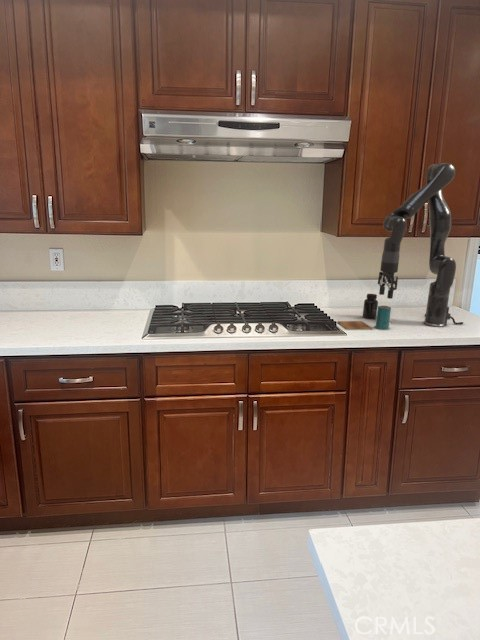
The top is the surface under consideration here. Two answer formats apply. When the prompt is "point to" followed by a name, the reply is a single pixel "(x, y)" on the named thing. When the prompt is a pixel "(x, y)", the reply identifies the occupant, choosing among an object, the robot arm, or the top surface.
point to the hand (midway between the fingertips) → (385, 296)
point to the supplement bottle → (370, 306)
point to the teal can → (383, 317)
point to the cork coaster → (354, 325)
